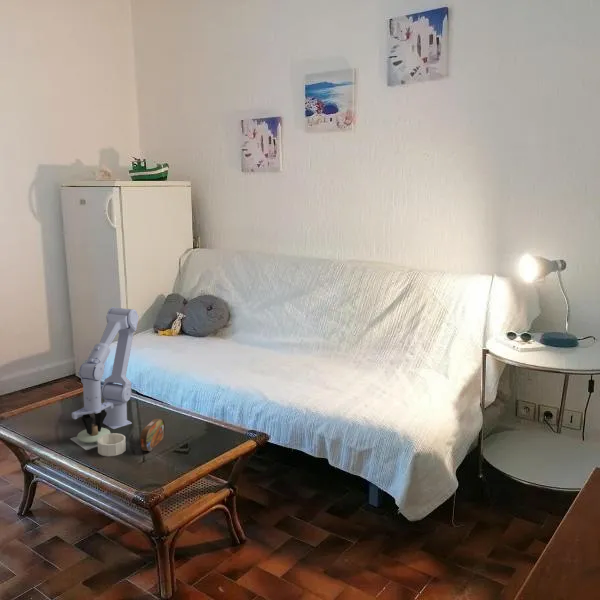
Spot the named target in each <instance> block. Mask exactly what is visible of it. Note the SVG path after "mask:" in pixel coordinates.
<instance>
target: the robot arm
mask: <svg viewBox="0 0 600 600" xmlns="http://www.w3.org/2000/svg"><path fill="white" fill-rule="evenodd" d="M105 318H106V319H105V320H106V327H105V328H104V332H103V334H102V336H101V339H100V341H99V343H96V344H94V346H93V348H92V350H91V352H90V354H89V356H88V358H87V360H86V361H85V362H84V363H82V364H81V365H80V367H79V369H78V376H79V378H80V383H82V390H83V391H82V392H83V407H82V408H80V409H78V410H76V411H72V412H71V419H73V420H77V419H79V418H80V419H81V421H82V422H83V425H84V427H85V429H86V430H87V433H88V434H89V435H91V434H92V424H93V417H92V416H91V414H94V419H95V423H94V424H97V425H98V432H100V431H101V428H103V424H104V425H105V426H107V427H108V428H110V429H112V430H115V429H119V428H121V427H125V426H129V425H131V424H133V423H132V422H131V421H130V420H128V406H127V404H128V401H129V400H130V399H131V396H132V382H131V381H130V380H129V379H128V377H127V372H128V366H129V360H130V354H131V350H132V349H131V348H132V345H133V339H134V338H133V337H134V333H135V332H136V331H137V327H138V322H139V314H138V312H137V310H136V309H134V308H121V307H115V306H111V307H110V308H109V309H108V311H107V314H106V317H105ZM117 334H118V337H117V338H118V339H117V343H116V347H115V355H114V359H113V366H112V370H111V375H109V376H107V377H106V378H105V379H104V381H103V384H102V387H101V383H102V382H101V379H102V378H103V375H104V372H105V366H106V365H105V363H106V361H107V359H108V357H109V355H110V353H111V349H110V346H111V344H112V342H113V341H114V339H115V337H116V336H117ZM102 400H104V401H102Z"/></svg>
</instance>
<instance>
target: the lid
mask: <svg viewBox="0 0 600 600" xmlns="http://www.w3.org/2000/svg"><path fill="white" fill-rule="evenodd" d="M106 434H111V431H110V430H109V428H106V427H105V428H104V427H101V431H100V432H98V425H97V424H96V423H92V434H91V435H89V434H88V433H87V430H86V428H85V429H83V430H81V431H80V432H78V434H77V435H76V436H77V438H78V440H79V441H82V442H86V443H94V442H98V438H100V437H101V436H103V435H106Z"/></svg>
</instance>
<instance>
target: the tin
mask: <svg viewBox="0 0 600 600" xmlns="http://www.w3.org/2000/svg"><path fill="white" fill-rule="evenodd" d="M164 420H165V419H163V418H153V419H152V420H151V421H150V422H148V424H146V425H145V427H143V429H142V430H141V433H140V436H139V437H140V438H139V440H140V448H141V450H142V451H144V452H152V451H153V450H154V448H155V447H156V446H157V445H158V444H159V443H161V441H162V440H164V436H165V433H166V424H165V421H164Z"/></svg>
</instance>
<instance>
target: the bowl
mask: <svg viewBox="0 0 600 600" xmlns="http://www.w3.org/2000/svg"><path fill="white" fill-rule="evenodd" d="M126 442H127V441H126V436H125V435H124V434H122V433H117V432H116V433H114V432H113V433H112V432H111V433H110V434H106V435H103V436H101V437H100V438H98V447H97V454H99V455H101V456H104V457H115V456H119V455H121V454H123V453H125V452H126V450H127V448H126V447H127V446H126V445H127V444H126Z"/></svg>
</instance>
